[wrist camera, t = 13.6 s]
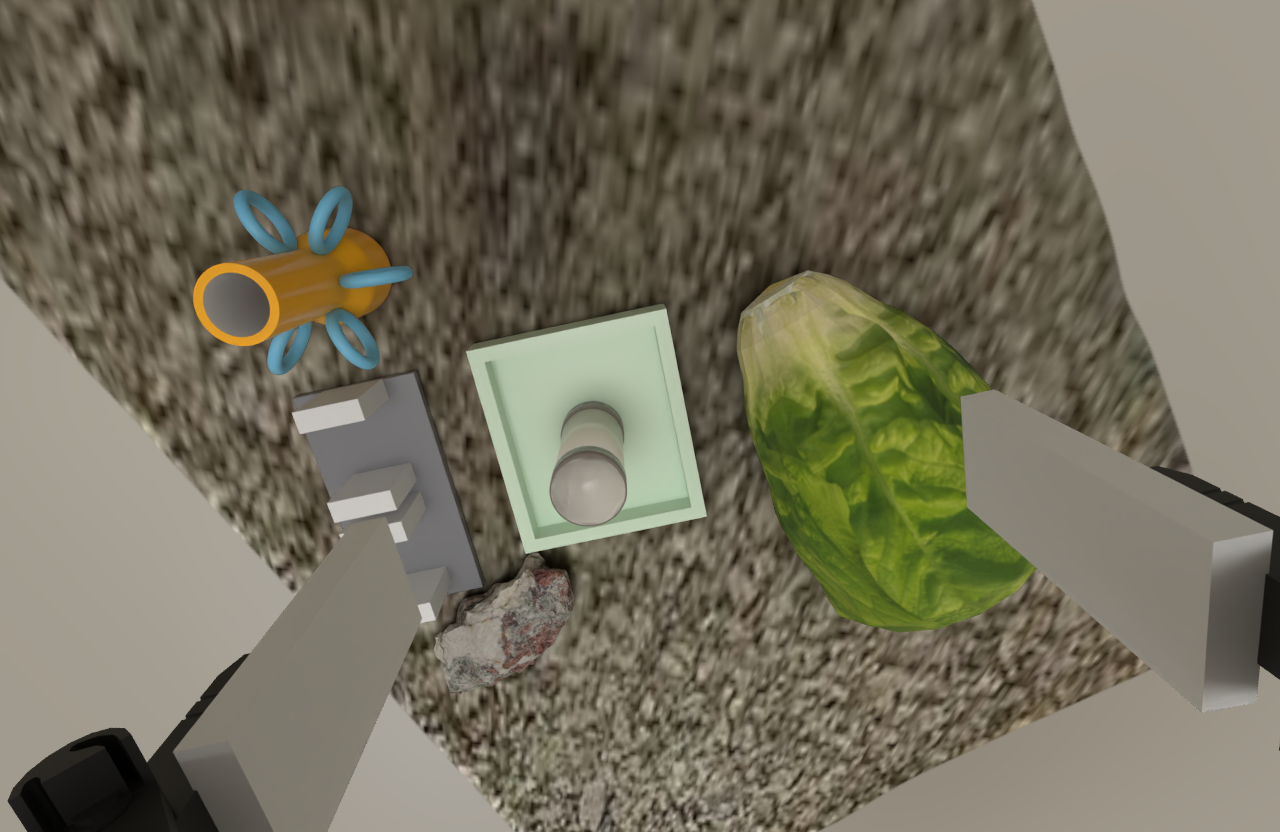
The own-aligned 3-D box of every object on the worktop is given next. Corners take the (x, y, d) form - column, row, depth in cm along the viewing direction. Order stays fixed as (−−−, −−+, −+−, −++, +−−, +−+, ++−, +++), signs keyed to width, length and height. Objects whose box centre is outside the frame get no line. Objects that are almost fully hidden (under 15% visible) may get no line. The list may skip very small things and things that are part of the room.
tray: (473, 344, 49) (466, 351, 47) (663, 303, 49) (666, 308, 46) (529, 537, 54) (525, 553, 52) (702, 502, 54) (706, 516, 51)
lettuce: (763, 280, 55) (941, 173, 41) (912, 517, 57) (1126, 490, 44) (623, 380, 46) (792, 285, 32) (806, 656, 48) (1035, 677, 34)
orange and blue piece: (393, 380, 50) (305, 455, 35) (250, 319, 48) (97, 372, 34) (453, 223, 46) (384, 236, 32) (303, 152, 45) (159, 132, 30)
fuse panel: (296, 395, 50) (257, 420, 44) (416, 369, 49) (391, 391, 44) (376, 603, 55) (350, 649, 50) (484, 581, 55) (470, 624, 49)
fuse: (555, 408, 50) (540, 464, 40) (616, 395, 50) (617, 448, 39) (570, 464, 51) (559, 533, 41) (629, 452, 51) (634, 517, 41)
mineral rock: (468, 690, 58) (458, 728, 54) (408, 625, 56) (392, 660, 52) (610, 603, 56) (610, 636, 52) (553, 533, 54) (549, 561, 50)
